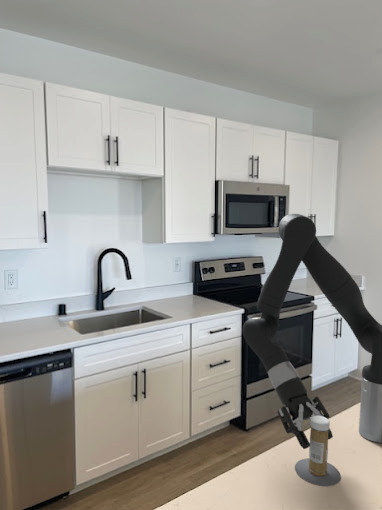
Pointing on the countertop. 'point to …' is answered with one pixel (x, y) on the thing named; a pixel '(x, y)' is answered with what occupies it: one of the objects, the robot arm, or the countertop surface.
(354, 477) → the countertop surface
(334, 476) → the coaster
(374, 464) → the countertop surface
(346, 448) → the countertop surface
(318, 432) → the sprinkles bottle
